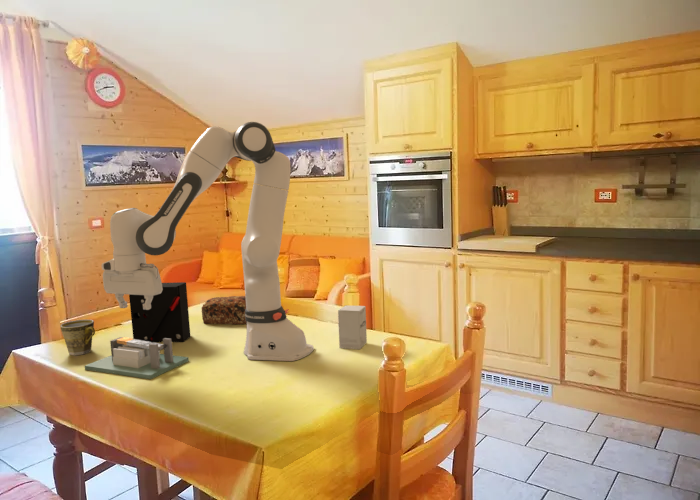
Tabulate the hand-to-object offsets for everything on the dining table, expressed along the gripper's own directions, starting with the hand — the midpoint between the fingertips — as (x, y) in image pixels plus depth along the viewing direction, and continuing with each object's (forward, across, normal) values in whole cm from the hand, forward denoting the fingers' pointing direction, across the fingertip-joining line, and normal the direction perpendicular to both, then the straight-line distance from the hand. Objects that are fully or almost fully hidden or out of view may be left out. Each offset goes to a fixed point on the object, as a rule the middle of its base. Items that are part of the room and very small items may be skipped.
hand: (135, 308), depth 162 cm
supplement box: (+19, -55, -37) cm, 69 cm away
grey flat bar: (+11, -1, 0) cm, 11 cm away
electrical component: (+18, +13, -24) cm, 33 cm away
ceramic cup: (+18, +29, -4) cm, 35 cm away
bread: (+19, +6, -52) cm, 55 cm away
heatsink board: (+18, +1, 0) cm, 18 cm away
